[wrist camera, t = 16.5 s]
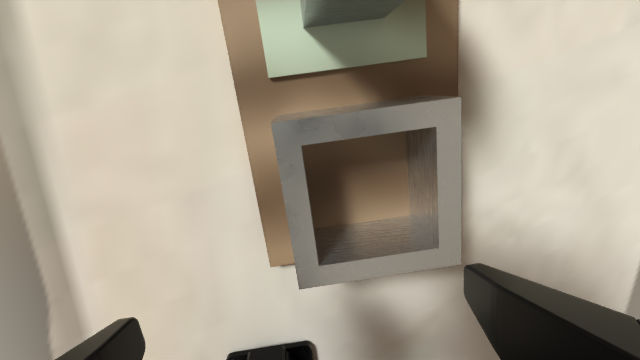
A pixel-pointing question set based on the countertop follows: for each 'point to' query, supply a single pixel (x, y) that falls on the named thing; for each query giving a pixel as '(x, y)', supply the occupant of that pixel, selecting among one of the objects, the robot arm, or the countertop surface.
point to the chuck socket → (385, 234)
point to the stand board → (334, 101)
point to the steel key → (344, 11)
